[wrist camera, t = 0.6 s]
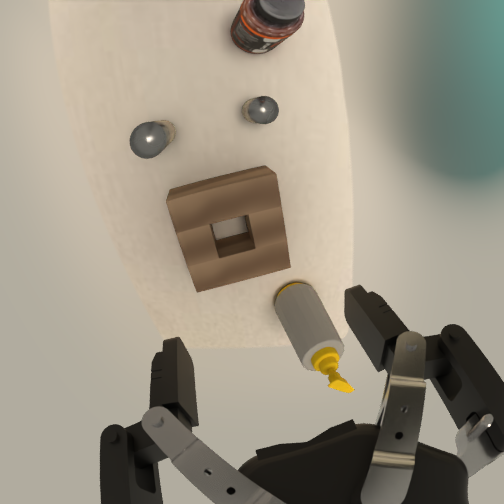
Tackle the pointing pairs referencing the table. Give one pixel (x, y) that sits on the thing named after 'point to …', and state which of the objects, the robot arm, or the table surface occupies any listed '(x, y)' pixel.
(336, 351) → the soap bottle
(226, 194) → the guide block
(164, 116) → the table surface
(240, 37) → the supplement bottle
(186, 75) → the table surface
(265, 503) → the robot arm
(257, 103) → the short pin
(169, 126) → the tall pin
